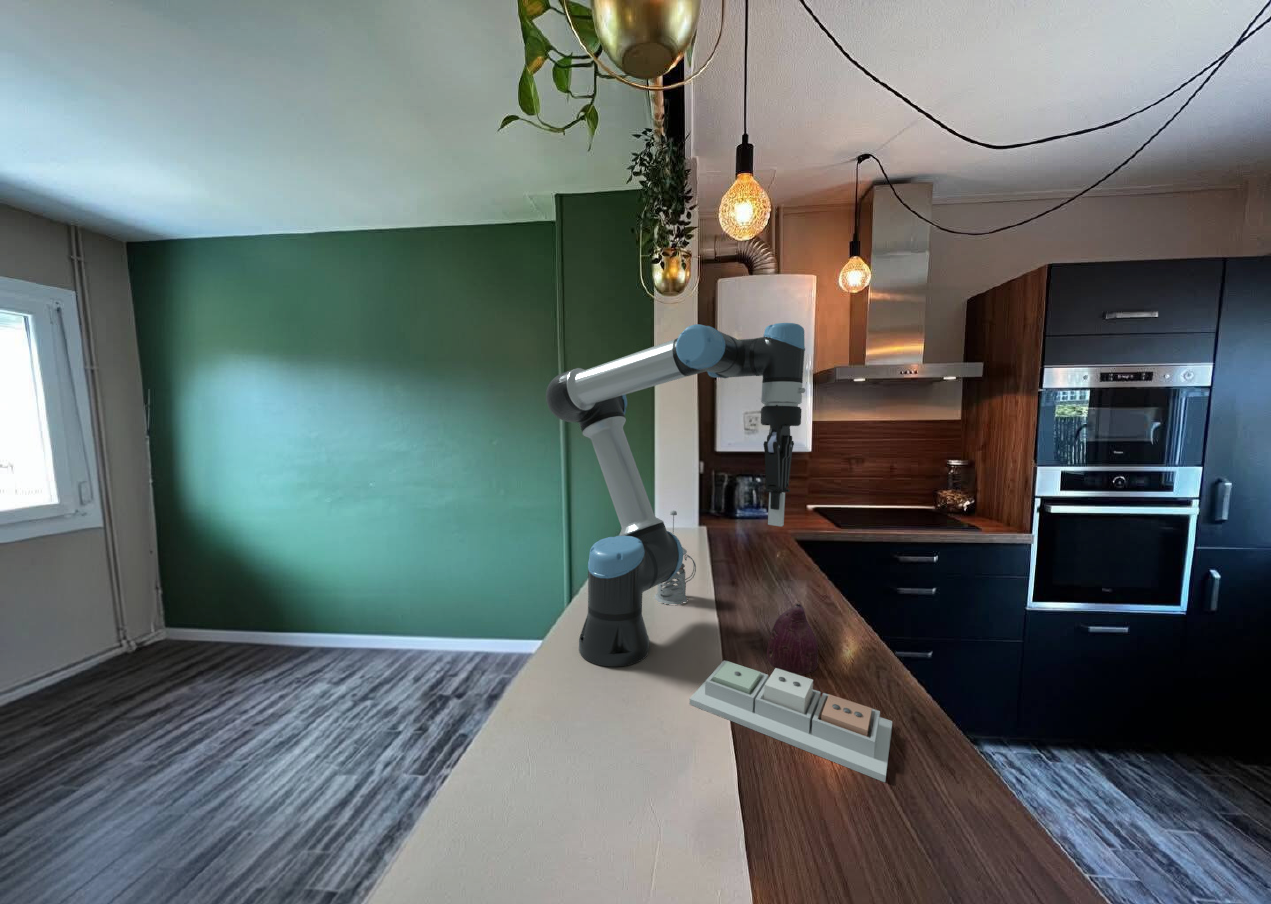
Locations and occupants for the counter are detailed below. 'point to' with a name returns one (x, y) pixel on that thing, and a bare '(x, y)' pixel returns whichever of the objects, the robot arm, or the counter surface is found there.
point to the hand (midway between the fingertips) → (775, 524)
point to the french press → (674, 592)
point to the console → (800, 726)
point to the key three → (847, 715)
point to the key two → (789, 690)
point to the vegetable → (793, 643)
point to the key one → (738, 677)
